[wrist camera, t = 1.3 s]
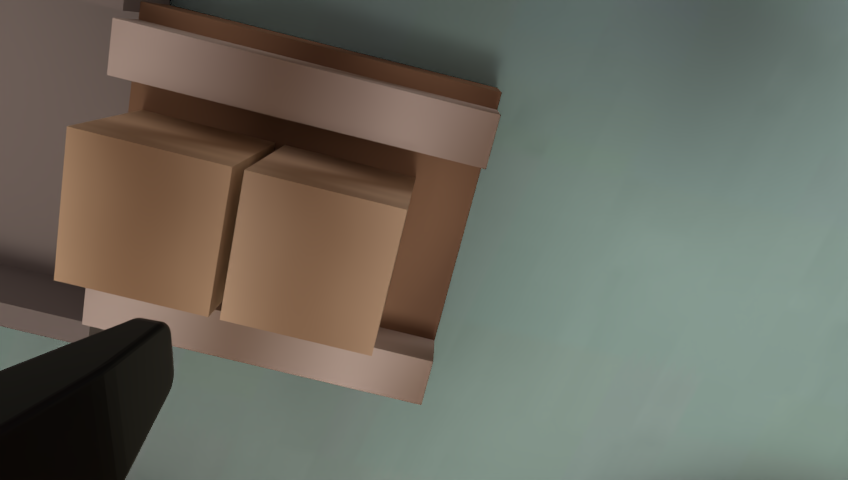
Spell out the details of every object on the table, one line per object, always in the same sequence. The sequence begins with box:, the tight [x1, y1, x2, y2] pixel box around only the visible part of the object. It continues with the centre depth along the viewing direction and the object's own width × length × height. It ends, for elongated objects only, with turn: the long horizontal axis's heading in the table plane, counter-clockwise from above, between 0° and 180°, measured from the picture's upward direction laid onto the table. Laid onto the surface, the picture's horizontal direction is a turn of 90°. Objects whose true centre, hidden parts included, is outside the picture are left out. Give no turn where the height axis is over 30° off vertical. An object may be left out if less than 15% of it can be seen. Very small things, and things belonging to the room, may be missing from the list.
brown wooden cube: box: [220, 145, 416, 356], centre depth 18 cm, size 4×4×4 cm
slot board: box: [82, 1, 502, 405], centre depth 21 cm, size 10×10×4 cm
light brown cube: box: [54, 110, 275, 317], centre depth 18 cm, size 4×4×4 cm
